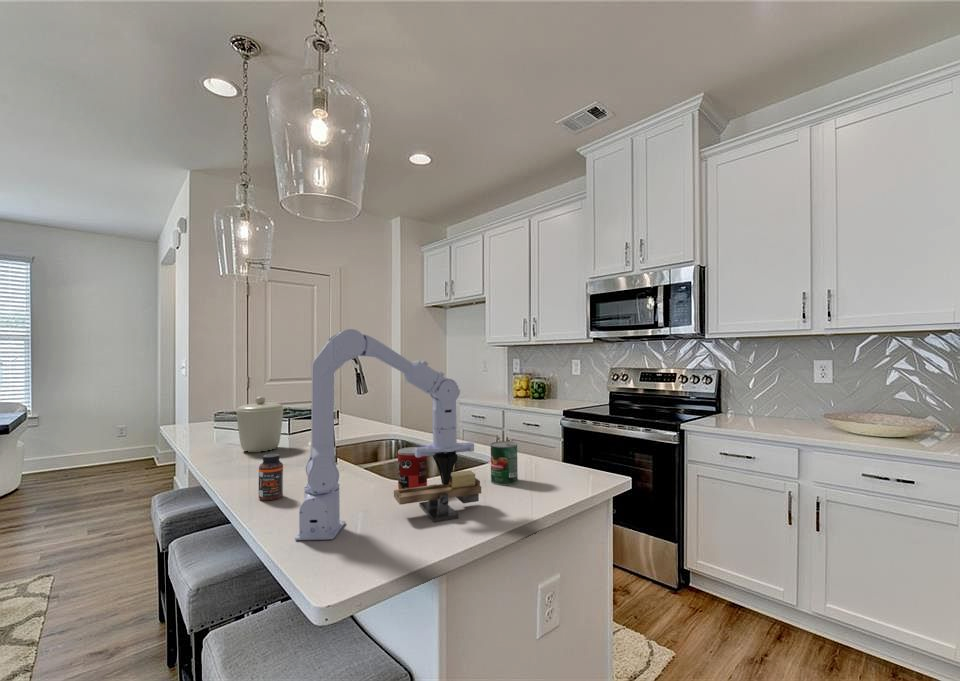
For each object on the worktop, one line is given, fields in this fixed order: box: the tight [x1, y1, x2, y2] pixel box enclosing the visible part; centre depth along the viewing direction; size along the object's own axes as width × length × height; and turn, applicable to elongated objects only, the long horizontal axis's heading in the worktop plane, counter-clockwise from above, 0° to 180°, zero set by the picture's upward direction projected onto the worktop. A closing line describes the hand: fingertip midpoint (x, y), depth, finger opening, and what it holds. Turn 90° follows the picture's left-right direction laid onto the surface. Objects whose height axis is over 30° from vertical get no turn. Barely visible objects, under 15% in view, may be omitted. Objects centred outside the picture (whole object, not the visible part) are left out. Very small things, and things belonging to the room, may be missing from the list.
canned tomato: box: [490, 440, 519, 486], centre depth 135 cm, size 8×8×11 cm
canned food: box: [397, 446, 428, 489], centre depth 128 cm, size 8×8×11 cm
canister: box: [234, 396, 286, 453], centre depth 182 cm, size 18×18×21 cm
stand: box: [418, 484, 460, 523], centre depth 110 cm, size 6×12×5 cm, turn 23°
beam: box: [393, 477, 482, 505], centre depth 110 cm, size 20×6×5 cm, turn 113°
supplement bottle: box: [258, 453, 284, 502], centre depth 123 cm, size 6×6×11 cm
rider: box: [447, 470, 476, 490], centre depth 113 cm, size 6×4×4 cm, turn 113°
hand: (445, 483), depth 111 cm, fingers closed
